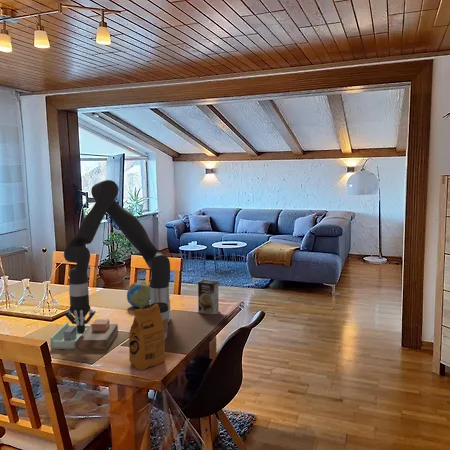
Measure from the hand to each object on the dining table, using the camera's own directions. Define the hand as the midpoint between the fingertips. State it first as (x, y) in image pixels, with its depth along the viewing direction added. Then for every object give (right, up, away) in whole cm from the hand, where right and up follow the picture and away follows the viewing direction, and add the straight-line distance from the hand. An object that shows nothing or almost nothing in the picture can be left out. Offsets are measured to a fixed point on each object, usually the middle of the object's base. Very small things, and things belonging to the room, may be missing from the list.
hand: (81, 333), depth 180 cm
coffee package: (+31, -7, -17) cm, 36 cm away
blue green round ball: (+16, +1, +50) cm, 53 cm away
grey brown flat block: (+6, -4, +5) cm, 9 cm away
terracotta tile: (+6, 0, +8) cm, 10 cm away
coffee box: (+52, 0, +40) cm, 66 cm away
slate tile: (-3, -1, 0) cm, 3 cm away
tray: (-6, -5, +5) cm, 9 cm away
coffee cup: (+32, -4, +7) cm, 33 cm away
